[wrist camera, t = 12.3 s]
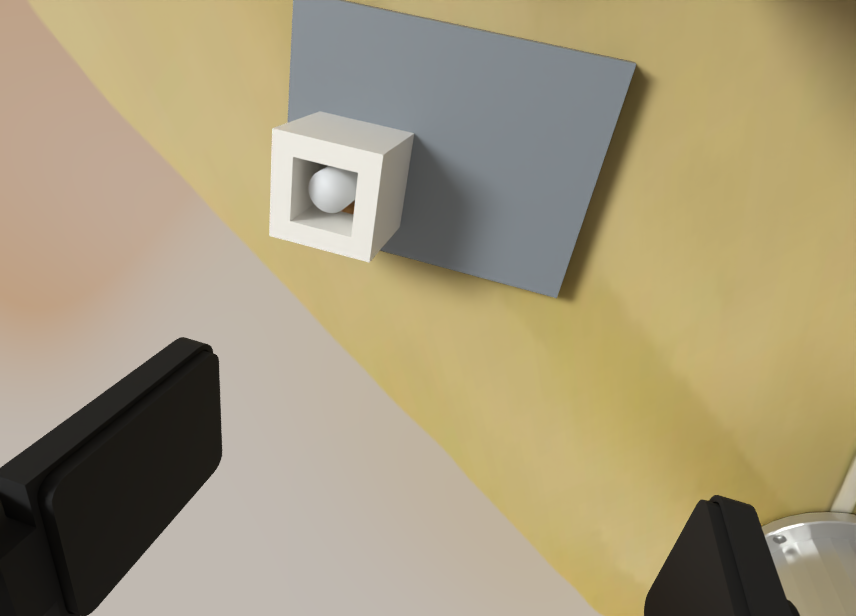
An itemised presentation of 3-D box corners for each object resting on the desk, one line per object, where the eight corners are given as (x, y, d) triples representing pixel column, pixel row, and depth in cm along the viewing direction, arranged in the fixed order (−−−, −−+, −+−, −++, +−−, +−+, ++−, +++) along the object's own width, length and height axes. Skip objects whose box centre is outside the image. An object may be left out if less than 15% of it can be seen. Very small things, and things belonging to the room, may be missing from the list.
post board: (557, 288, 36) (553, 337, 31) (292, 217, 39) (244, 251, 33) (633, 62, 29) (646, 72, 24) (305, -8, 32) (246, -14, 26)
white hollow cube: (319, 111, 33) (272, 128, 28) (414, 133, 32) (383, 154, 27) (313, 204, 36) (269, 235, 31) (399, 226, 35) (369, 262, 30)
